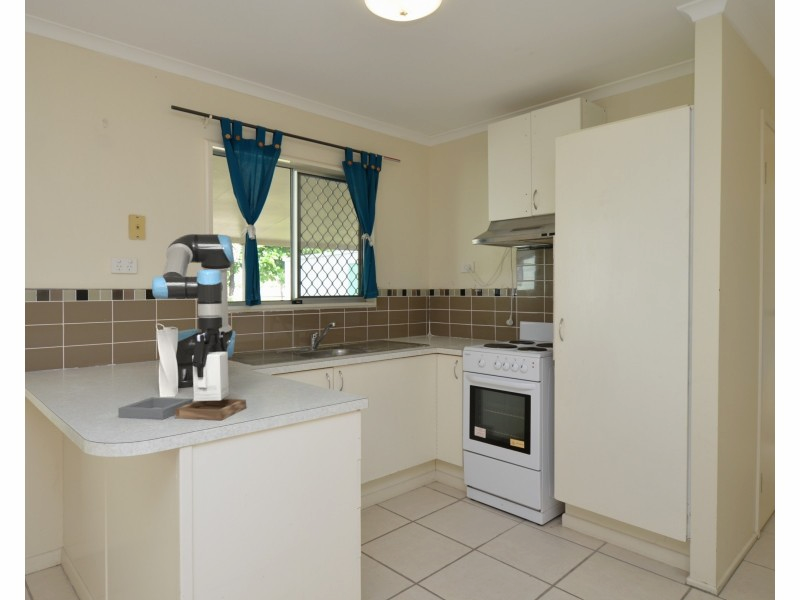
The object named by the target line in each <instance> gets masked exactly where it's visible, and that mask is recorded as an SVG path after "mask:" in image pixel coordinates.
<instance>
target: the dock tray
mask: <svg viewBox="0 0 800 600" xmlns="http://www.w3.org/2000/svg"><path fill="white" fill-rule="evenodd" d="M245 409H247V399H237V398H223V399H222V400H220V401H193V402H192V403H189V404H187V405H184V406H182V407H179V408H176V409H175V415H174V417H175V419H178V418H183V420H184V419H185V420H199V419H204V420H203V421H223V420H225V419H227V418H229V417H232V416H233V415H235V414H237V413H239V412H240V413H241V411H243V410H245Z"/></svg>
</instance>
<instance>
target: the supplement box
mask: <svg viewBox="0 0 800 600" xmlns="http://www.w3.org/2000/svg"><path fill="white" fill-rule="evenodd" d="M193 356H194V355H193ZM193 356H192V359H193ZM228 360H229V358H228V352H208V355H207V359H206V363H205V366H204V367H206V371H207V387H206V388H205V387H198V376H197V367H194V366H193V386H192V387H193V402H195V401H220V400H222V399H226V397H228V396H229V394H230V393H229V392H230V391H229V390H230V389H229V363H228V362H229V361H228Z"/></svg>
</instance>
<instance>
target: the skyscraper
mask: <svg viewBox="0 0 800 600" xmlns="http://www.w3.org/2000/svg"><path fill="white" fill-rule="evenodd" d="M158 326H161V327H163V328H162V329H158ZM155 329H156V339H157V349H158V355H159V364H158V387H159V389H158V390H159V398H174V397H176V396H177V395H178V394H179V387H178V367H177V360H176V352H177V343H178V331H179V329H178V327H175V326H165V325H164V324H161V323H156V324H155Z"/></svg>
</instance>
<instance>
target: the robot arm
mask: <svg viewBox="0 0 800 600" xmlns="http://www.w3.org/2000/svg"><path fill="white" fill-rule="evenodd" d="M165 256H166V259H167V260H166V263H165V266H164V269H163V273H162V275H161V276H154V277H153V278H152V282H151V283H152V284H151V289H152V290H151V291H152V296H153V297H154V298H155V299H160V300H173V299H178V300H179V299H197V316H198V318H197V328H192V329H184V330H178V343H177V352H176V360H177V367H178V388H190V387H193V366H194V367H197V376H198V387H205V388H206V387H207V371H206V367H204V366H205V363H206V359H207V355H208V352H228V359H229V358H231V357H232V356H233V355H234V351H235V344H236V343H235V342H236V331H235V330H233V326H231V325H230V324H229V307H228V306H229V304H228V303H229V302H228V300H229V297H228V271H229V269H231V267H232V265H231V264H234V263H235V257H234V249H233V243H232V239H231V236H229V235H227V234H219V233H217V234H215V233H214V234H211V233H209V234H208V233H206V234H205V233H204V234H198V233H193V234H192V233H191V234H185V235H182V236H180V237H178V238H176V239H175V240H173V241H172V242H171V243H170V245H168V247H167V250H166V254H165ZM190 263H195V264H196V263H197V264H198V263H199V264H200V267H201V269H200V270H198V271H197V272H196V273H197V274H196V276H187V274H188V268H189V264H190ZM200 330H201V331H200ZM193 355H194V356H193ZM192 356H193V359H192Z"/></svg>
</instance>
